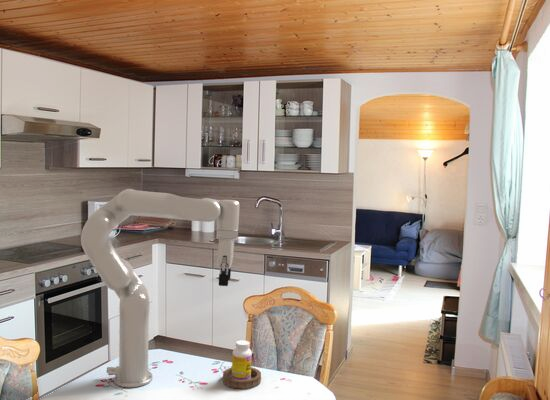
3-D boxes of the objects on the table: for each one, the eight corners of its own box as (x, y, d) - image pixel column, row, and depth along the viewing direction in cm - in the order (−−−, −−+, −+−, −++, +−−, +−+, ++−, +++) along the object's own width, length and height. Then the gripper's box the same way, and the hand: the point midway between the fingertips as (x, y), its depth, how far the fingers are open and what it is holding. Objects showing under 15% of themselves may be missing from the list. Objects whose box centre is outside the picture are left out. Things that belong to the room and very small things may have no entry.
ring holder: (221, 389, 165) (222, 381, 165) (224, 373, 178) (224, 365, 178) (260, 389, 166) (261, 381, 166) (260, 373, 179) (260, 366, 179)
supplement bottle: (247, 384, 168) (248, 347, 168) (228, 381, 170) (230, 344, 169) (253, 376, 175) (254, 340, 174) (235, 373, 176) (236, 338, 176)
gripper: (219, 231, 184) (216, 276, 185) (213, 237, 167) (211, 287, 168) (239, 232, 185) (236, 278, 185) (236, 238, 167) (233, 288, 168)
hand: (224, 282), depth 177 cm, fingers open, 9 cm apart
